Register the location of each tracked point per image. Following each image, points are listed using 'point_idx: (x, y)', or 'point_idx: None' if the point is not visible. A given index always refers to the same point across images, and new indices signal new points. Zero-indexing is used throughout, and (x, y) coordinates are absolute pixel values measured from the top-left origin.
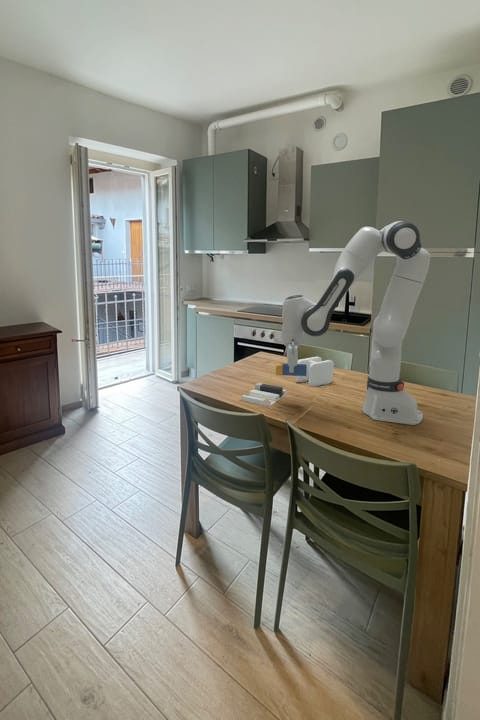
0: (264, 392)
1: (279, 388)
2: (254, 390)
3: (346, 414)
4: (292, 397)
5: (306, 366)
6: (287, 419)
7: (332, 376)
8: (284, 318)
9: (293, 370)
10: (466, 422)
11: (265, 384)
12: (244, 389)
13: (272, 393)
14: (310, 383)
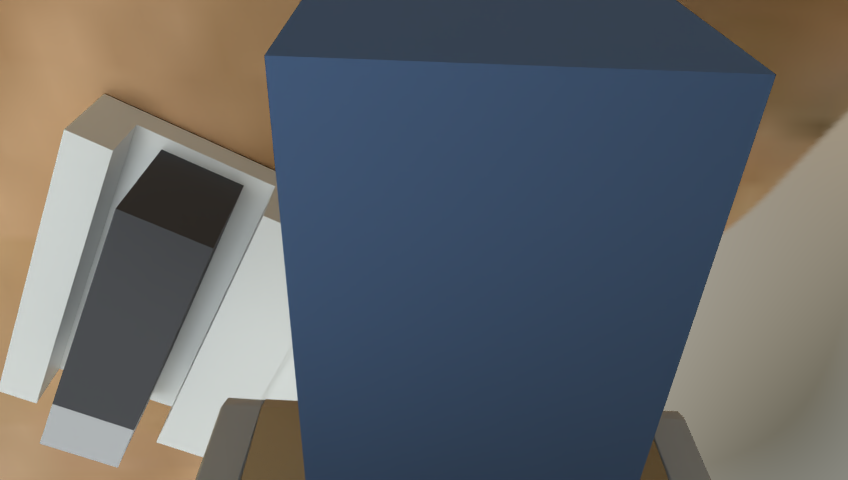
0: (221, 355)
1: (175, 248)
2: (185, 431)
3: None
4: (103, 9)
5: (758, 88)
6: (800, 113)
7: None
8: None
9: (699, 462)
10: None
11: (72, 385)
12: (34, 445)
13: (236, 285)
14: None
